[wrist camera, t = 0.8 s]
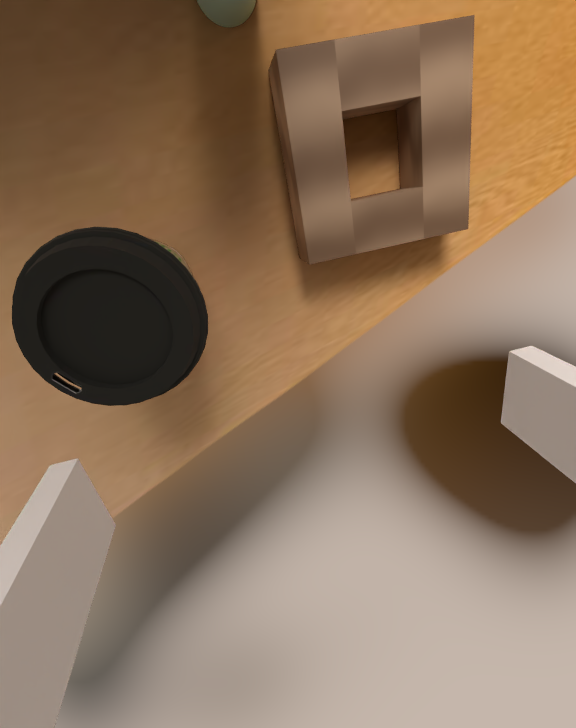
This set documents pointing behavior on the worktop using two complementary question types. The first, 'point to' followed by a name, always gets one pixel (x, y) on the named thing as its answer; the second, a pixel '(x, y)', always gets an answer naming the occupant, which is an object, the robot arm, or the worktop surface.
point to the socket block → (414, 125)
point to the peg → (227, 11)
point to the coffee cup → (109, 315)
